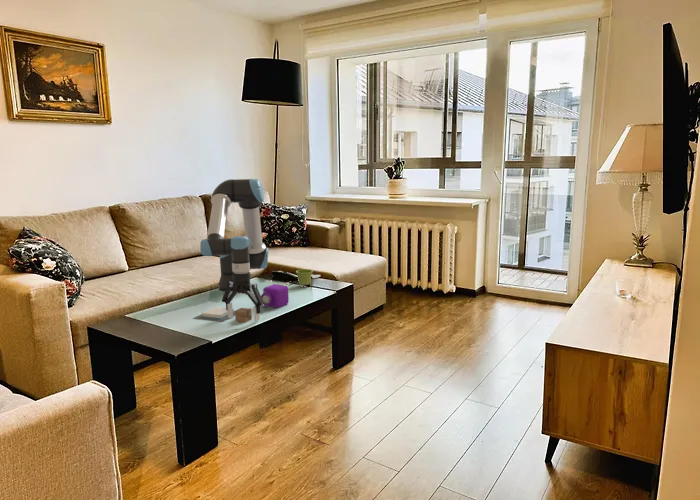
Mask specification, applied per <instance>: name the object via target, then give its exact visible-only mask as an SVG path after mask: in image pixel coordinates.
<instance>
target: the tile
mask: <svg viewBox="0 0 700 500" xmlns="http://www.w3.org/2000/svg"><path fill="white" fill-rule="evenodd" d="M234 311H235V310H234V308H233V313H234ZM201 314H202V317H204V318H213V319H223V318H225V317H227V316H228V311H227V310H226V307H219V306H214V307H212V308H210V309H207V310H205V311H203V312H201Z"/></svg>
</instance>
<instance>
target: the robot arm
mask: <svg viewBox="0 0 700 500" xmlns="http://www.w3.org/2000/svg"><path fill="white" fill-rule="evenodd" d="M263 202H265V194H264V187H263V183H262V181H261V180H260V179H258V178H255V179H254V178H248V179H247V178H244V179H241V178H240V179H232V178H231V179H227V180H226V179H225V180H224V181H222V182H220V184H218V185H217V186H216V187H215V188H214V190H213V192H212V194H211V198H210V203H211V211H210V217H209V223H208V228H207V229H208V230H207V236H206V238H204V239H201V241H200V242H199V244H200V245H199V247H200V252H201V255H202V256H205V257H207V256H208V257H213V256H214V257H215V256H219V267H220V278H219V282H218V285H217V286H218V287H217V288H218V290H219V291H221V292H224V294H223V296H222V298H221V303H225V308H226V310H227V311H228V318H229V319H228V320H230V319H232V318H233V317H234V316H233V309H234V307H233V302H232V300H234V298H235V296H237V294H245V295H246V296H247V297H248V298H249V299H250V301H251V302H252V304H253V305H254V306H253V313H254V314H253V315H254V318H253V320H254V322H258V321H259V320H260V313H261V306H264V301H263V299H262V297H261V295H262V294H261V292H260V290H259V289H258V284H257V283H256V282H255V283H251V272H250V271H251V270H262V269H263V270H264V269H266V268H267V267H268V259H269V247H266V244H265V243H264V242H263V235H262V224H261V214H260V207H261V206H262V203H263ZM232 203H234V204H235V203H237V204H238V206H239V208H240V209H241V210H242V218H243V227H244V235H237V236H233V237H232V236H231V238H225V235H226V228H227V227H226V226H227V219H228V212H229V211H228V210H229V207H230V206H231V205H232Z"/></svg>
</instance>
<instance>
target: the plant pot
mask: <svg viewBox="0 0 700 500" xmlns="http://www.w3.org/2000/svg"><path fill="white" fill-rule="evenodd" d="M295 273H296V275H297V279H298V281H299V282H298V285H299V284H300V285H305V284H309V283H310V284H311V283H312V282H311V280H312V278H311V275H312V274H313V270H312V269H307V268H306V269H297V270H296V271H295Z"/></svg>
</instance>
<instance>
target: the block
mask: <svg viewBox="0 0 700 500" xmlns="http://www.w3.org/2000/svg"><path fill="white" fill-rule="evenodd" d="M234 311H235V316H234V317H235V321H236V322H238V323H245V324H246V323H247V322H249V321H251V320H252V319H253V317H252V308H248V307H240V308H238V309H236V310H234Z"/></svg>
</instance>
